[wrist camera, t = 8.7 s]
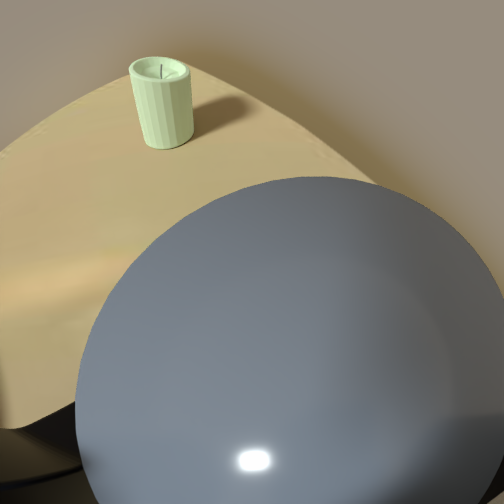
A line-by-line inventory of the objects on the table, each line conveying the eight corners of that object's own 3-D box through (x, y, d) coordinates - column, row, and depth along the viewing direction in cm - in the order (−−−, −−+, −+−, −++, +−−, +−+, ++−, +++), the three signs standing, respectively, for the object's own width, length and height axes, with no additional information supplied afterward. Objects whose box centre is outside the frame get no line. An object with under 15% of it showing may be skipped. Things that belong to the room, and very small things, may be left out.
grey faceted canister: (317, 335, 15) (485, 212, 4) (314, 443, 12) (491, 521, 1) (203, 328, 15) (136, 160, 4) (194, 441, 12) (99, 581, 1)
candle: (197, 118, 25) (193, 48, 18) (190, 149, 23) (183, 69, 16) (151, 120, 25) (139, 53, 17) (139, 151, 22) (119, 77, 15)
